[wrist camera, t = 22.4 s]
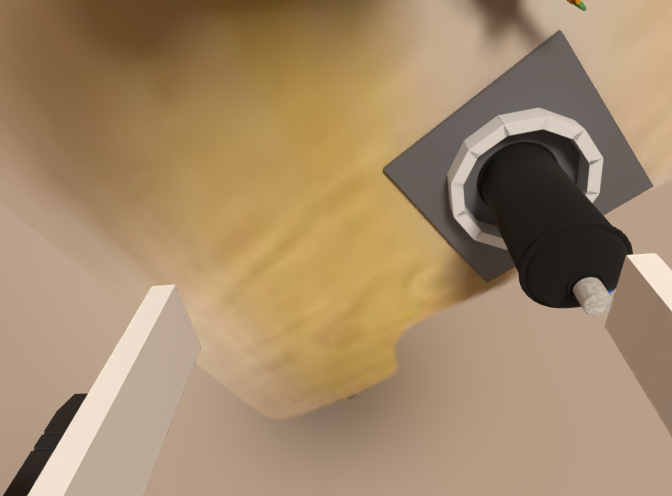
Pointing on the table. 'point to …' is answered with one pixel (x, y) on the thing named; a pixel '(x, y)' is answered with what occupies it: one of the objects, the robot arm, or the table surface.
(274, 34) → the table surface
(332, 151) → the table surface
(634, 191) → the can holder
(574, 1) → the figurine
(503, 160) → the aerosol can
